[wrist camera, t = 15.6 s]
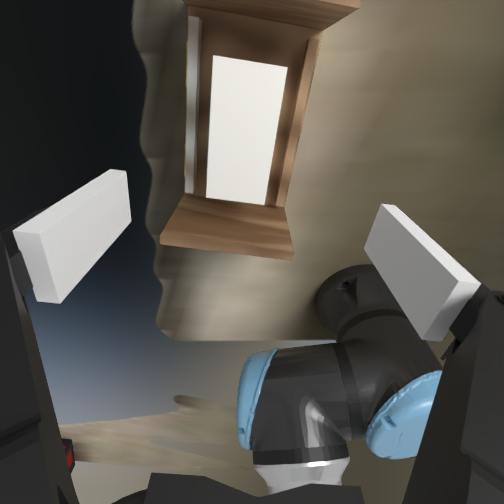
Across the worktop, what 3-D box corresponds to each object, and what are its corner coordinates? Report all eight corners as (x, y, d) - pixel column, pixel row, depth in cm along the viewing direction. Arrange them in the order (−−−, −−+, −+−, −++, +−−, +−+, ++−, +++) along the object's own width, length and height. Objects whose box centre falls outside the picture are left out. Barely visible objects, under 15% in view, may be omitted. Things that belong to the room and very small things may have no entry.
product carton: (262, 175, 38) (264, 205, 29) (215, 168, 37) (203, 197, 29) (278, 68, 31) (287, 67, 23) (222, 59, 31) (210, 54, 22)
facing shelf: (281, 209, 42) (292, 260, 30) (186, 196, 41) (160, 244, 29) (322, 20, 30) (364, -12, 19) (190, -5, 29) (149, -54, 18)
